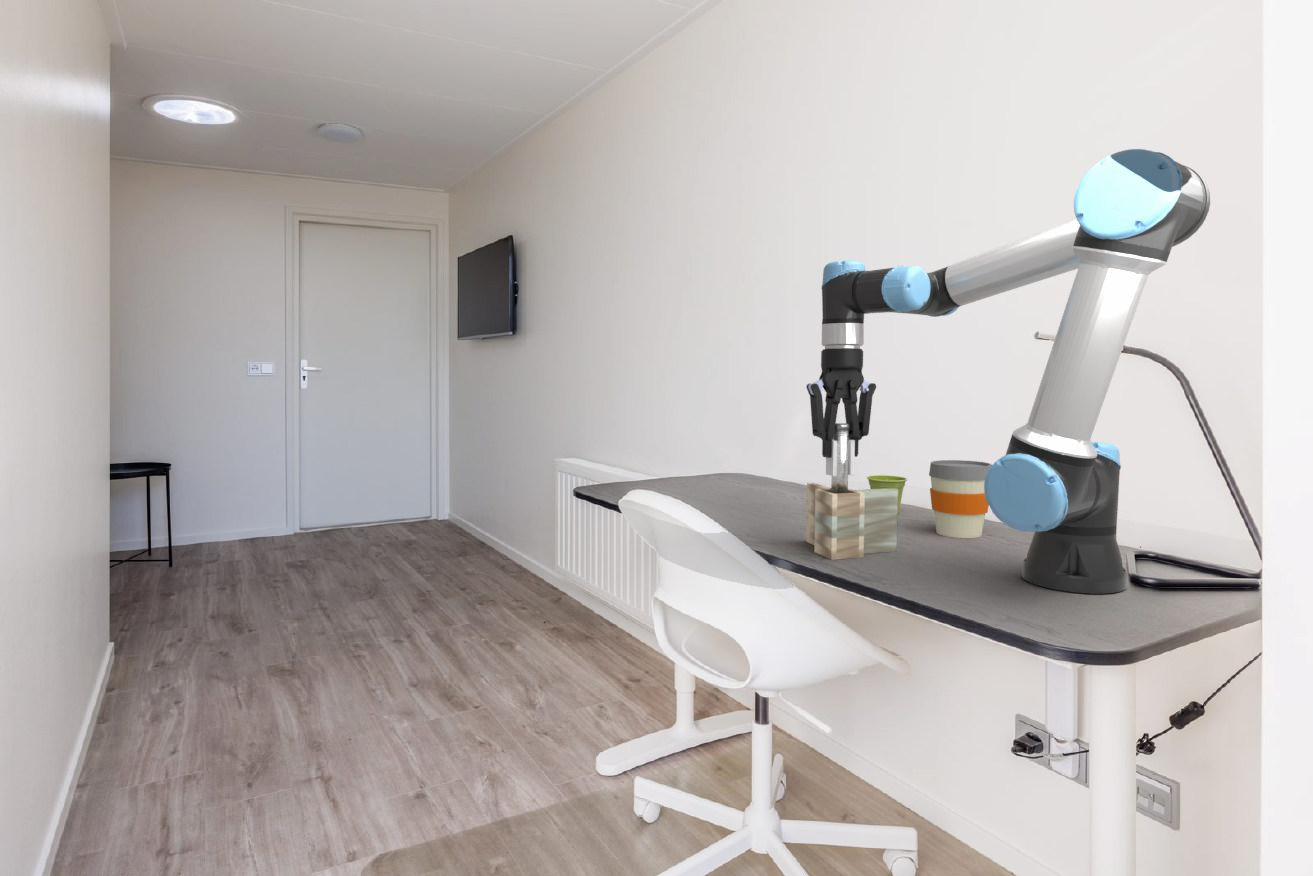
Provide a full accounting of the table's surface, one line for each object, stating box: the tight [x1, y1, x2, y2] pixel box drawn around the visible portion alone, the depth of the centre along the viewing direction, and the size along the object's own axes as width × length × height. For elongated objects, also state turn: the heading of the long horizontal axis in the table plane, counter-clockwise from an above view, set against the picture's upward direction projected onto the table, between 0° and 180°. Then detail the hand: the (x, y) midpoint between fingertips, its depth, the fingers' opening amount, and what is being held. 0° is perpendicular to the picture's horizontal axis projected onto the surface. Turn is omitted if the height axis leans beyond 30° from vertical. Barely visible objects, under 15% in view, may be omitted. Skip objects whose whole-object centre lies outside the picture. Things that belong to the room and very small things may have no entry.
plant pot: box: [866, 474, 908, 515], centre depth 191 cm, size 9×9×9 cm
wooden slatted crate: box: [805, 482, 898, 561], centre depth 152 cm, size 15×15×12 cm
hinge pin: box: [830, 422, 850, 494], centre depth 146 cm, size 3×3×15 cm
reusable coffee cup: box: [928, 459, 993, 539], centre depth 166 cm, size 12×13×15 cm
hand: (839, 474), depth 146 cm, fingers closed on hinge pin, 3 cm apart
